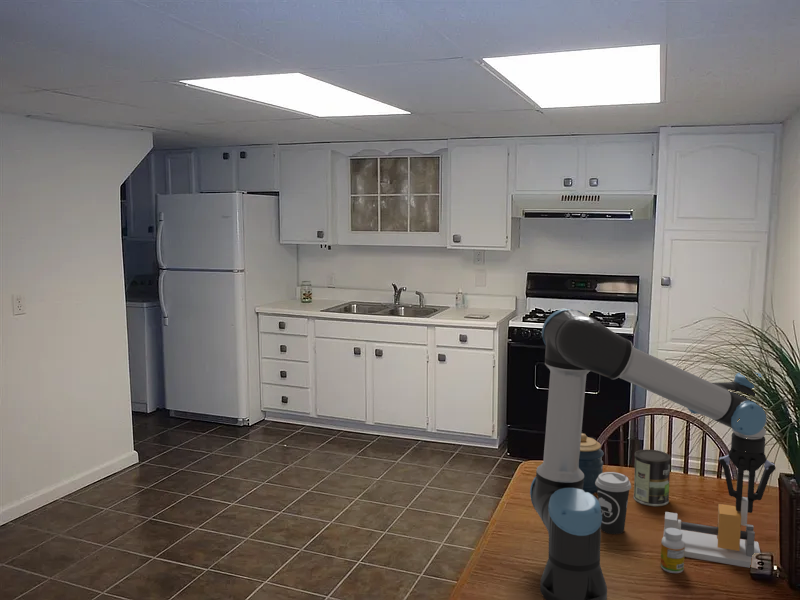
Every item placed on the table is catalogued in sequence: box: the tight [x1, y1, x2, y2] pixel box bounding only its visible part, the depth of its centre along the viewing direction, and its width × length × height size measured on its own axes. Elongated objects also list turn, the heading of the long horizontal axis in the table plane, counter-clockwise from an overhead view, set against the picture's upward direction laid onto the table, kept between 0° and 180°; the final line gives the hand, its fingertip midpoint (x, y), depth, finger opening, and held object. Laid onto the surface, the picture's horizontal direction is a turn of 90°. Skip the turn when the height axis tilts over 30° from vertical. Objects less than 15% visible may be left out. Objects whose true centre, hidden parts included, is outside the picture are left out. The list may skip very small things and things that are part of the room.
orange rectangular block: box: [716, 503, 742, 551], centre depth 176 cm, size 6×5×9 cm
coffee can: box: [633, 449, 672, 507], centre depth 209 cm, size 10×10×14 cm
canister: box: [579, 432, 605, 495], centre depth 219 cm, size 13×13×18 cm
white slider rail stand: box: [662, 511, 761, 569], centre depth 178 cm, size 12×23×8 cm, turn 67°
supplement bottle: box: [660, 528, 685, 574], centre depth 170 cm, size 5×5×10 cm
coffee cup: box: [595, 471, 632, 535], centre depth 190 cm, size 10×10×15 cm
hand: (743, 523), depth 175 cm, fingers closed
